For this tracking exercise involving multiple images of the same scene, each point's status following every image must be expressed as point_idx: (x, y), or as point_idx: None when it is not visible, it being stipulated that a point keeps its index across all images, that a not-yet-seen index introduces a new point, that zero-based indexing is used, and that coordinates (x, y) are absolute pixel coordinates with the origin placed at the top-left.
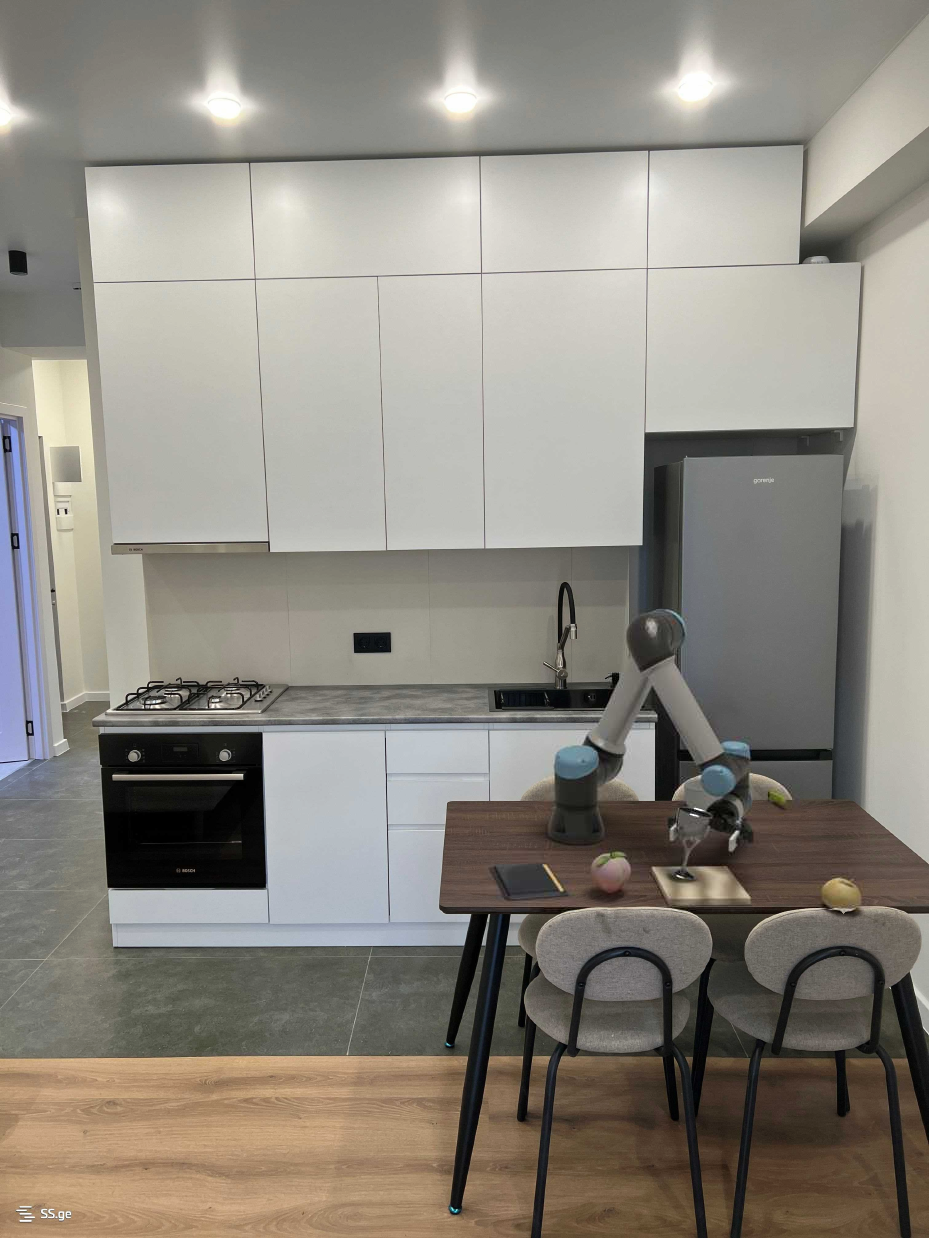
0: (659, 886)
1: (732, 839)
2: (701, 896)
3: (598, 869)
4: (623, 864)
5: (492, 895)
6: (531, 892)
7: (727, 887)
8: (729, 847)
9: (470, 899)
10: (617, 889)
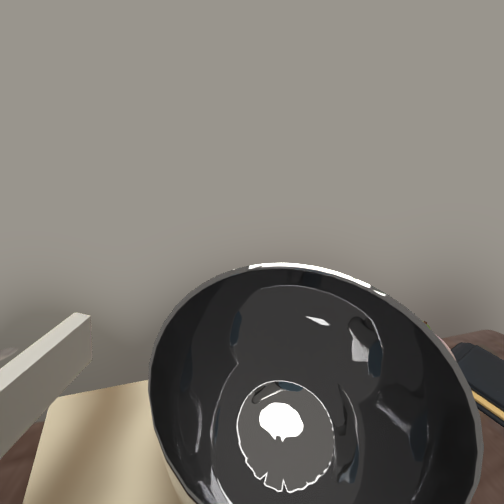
0: None
1: (72, 316)
2: None
3: None
4: None
5: (494, 352)
6: (464, 355)
7: (97, 468)
8: (89, 345)
9: (494, 339)
10: None
